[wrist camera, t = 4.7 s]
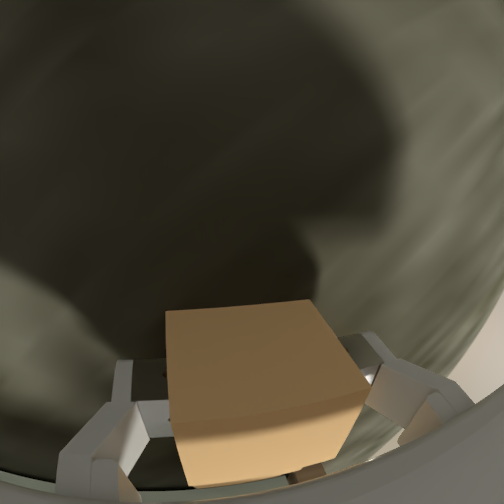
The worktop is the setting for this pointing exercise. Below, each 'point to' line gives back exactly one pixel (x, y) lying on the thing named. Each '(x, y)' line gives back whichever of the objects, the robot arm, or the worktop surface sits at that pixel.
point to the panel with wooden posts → (306, 474)
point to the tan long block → (258, 391)
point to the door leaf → (167, 495)
